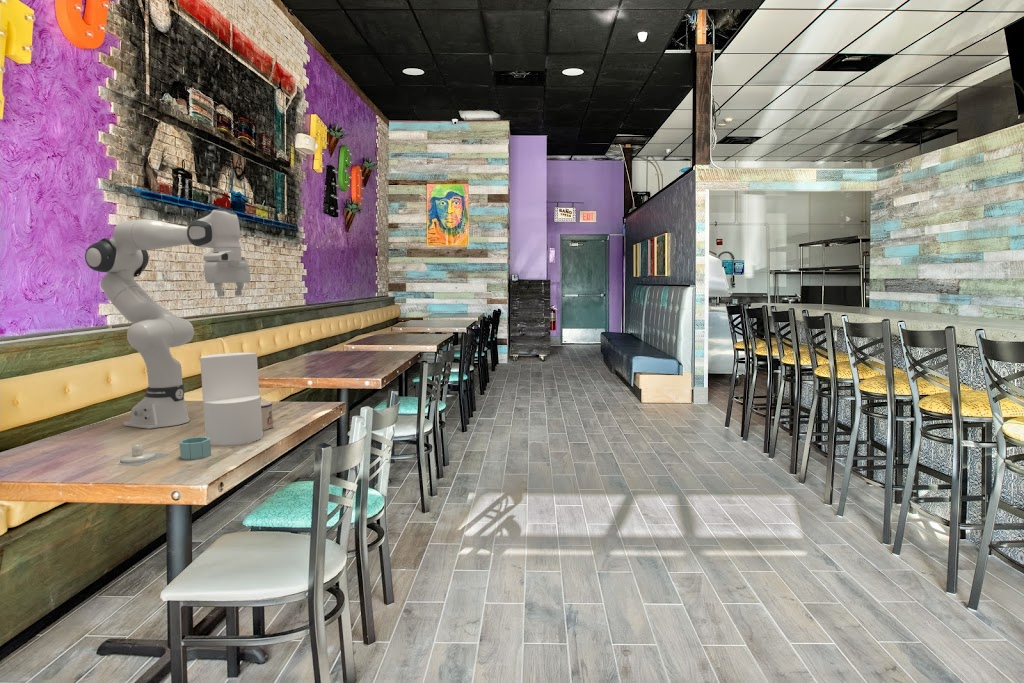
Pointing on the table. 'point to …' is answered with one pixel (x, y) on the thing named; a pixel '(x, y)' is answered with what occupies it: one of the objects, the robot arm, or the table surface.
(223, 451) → the table surface
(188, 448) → the cup
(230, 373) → the cylinder
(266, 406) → the teacup with lid
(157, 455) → the mat
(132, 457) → the lid
